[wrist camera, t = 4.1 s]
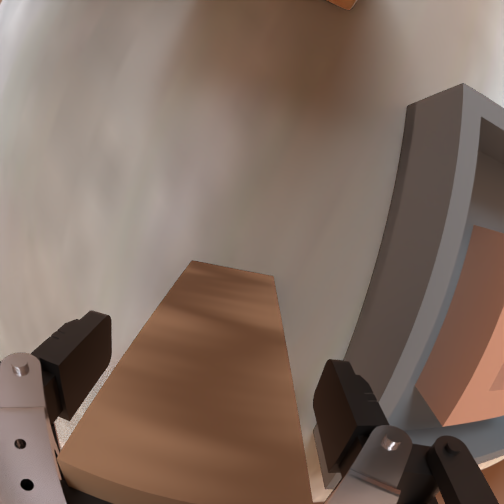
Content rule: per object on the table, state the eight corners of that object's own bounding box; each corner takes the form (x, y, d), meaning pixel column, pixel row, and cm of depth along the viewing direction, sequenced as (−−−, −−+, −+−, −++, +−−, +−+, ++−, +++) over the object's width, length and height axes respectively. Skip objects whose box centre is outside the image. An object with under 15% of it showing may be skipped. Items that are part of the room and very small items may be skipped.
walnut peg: (182, 331, 16) (97, 538, 4) (191, 260, 15) (56, 458, 3) (256, 346, 16) (258, 571, 4) (273, 276, 15) (314, 513, 3)
